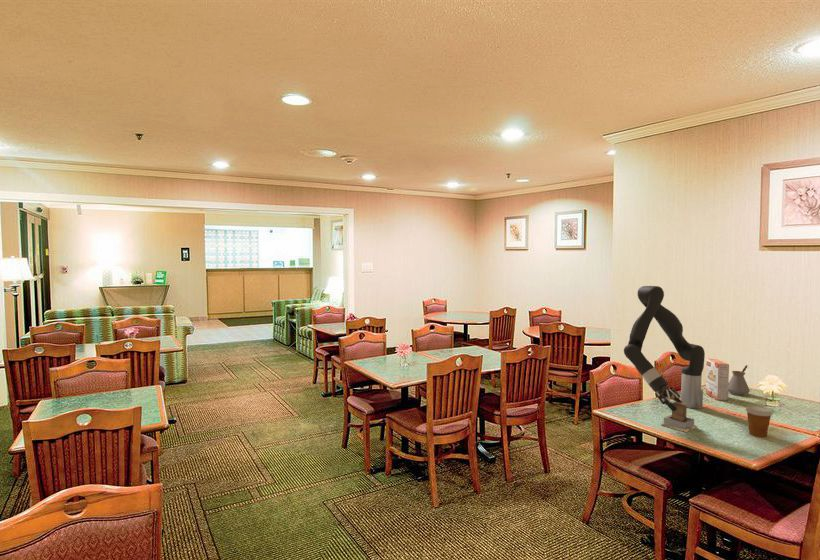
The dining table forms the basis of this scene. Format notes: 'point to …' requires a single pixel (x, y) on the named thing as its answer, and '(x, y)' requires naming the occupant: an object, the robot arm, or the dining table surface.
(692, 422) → the gray square tray
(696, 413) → the dining table surface
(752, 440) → the dining table surface
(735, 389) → the coffee pot
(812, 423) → the dining table surface
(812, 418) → the dining table surface
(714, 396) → the cracker box
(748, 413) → the disposable coffee cup
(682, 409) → the block
